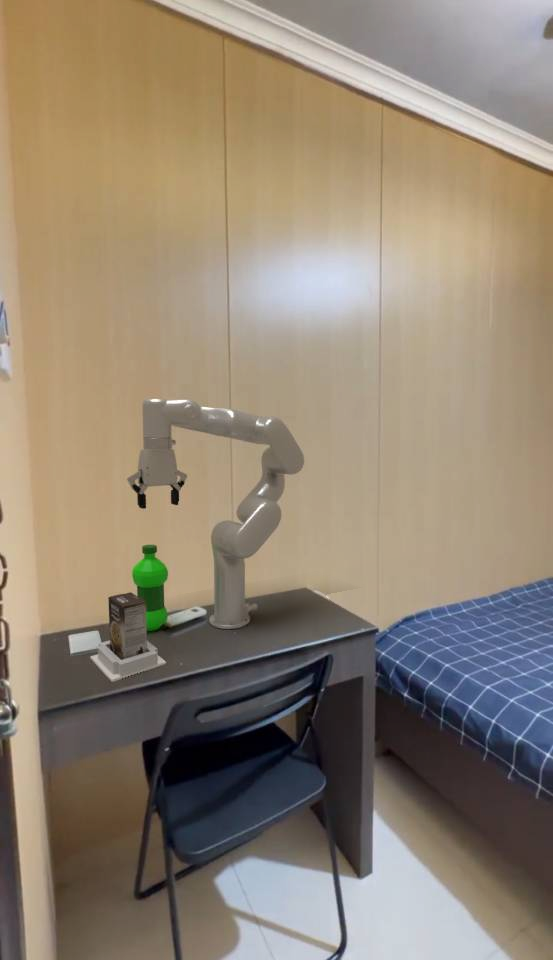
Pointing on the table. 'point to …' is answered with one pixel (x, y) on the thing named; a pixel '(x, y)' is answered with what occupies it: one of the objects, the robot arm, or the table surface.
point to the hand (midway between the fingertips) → (158, 506)
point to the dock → (125, 662)
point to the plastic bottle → (151, 586)
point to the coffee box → (127, 625)
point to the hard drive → (84, 643)
